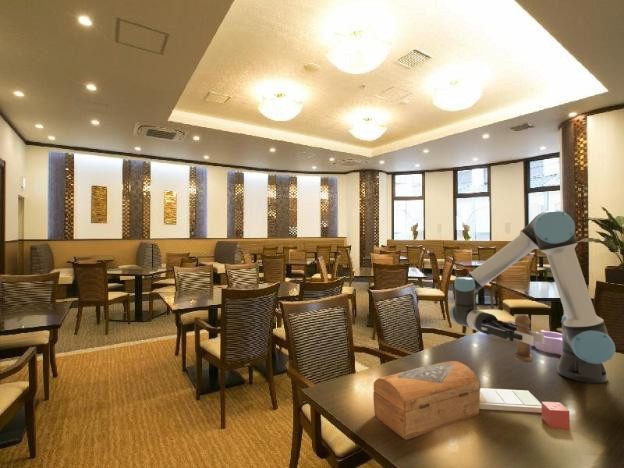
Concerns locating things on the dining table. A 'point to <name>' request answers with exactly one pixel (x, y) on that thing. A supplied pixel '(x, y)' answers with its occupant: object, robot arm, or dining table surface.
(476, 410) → the wooden box
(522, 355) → the pawn
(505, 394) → the board
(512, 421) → the dining table surface
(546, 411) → the die
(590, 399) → the dining table surface
